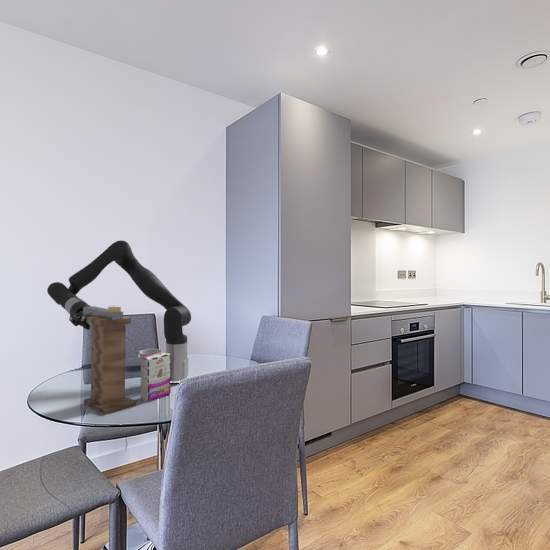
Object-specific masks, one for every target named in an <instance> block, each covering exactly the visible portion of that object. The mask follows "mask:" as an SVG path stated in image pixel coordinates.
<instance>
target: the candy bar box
mask: <svg viewBox="0 0 550 550" xmlns="http://www.w3.org/2000/svg"><path fill="white" fill-rule="evenodd" d="M171 392H172V391H171V384H170V354H169V353H166V352H165V351H164V352H162V353H158V354H154V355H150V356H146V357H142V358H141V364H140V400H141V399H142V400H141V401H143V400H145V401H144V402H147V401H150V402H152V400H153V401H155V399H156V400H158V399H160V397H161V398H164V397H166V396H169V395H171V394H170V393H171ZM168 394H169V395H168ZM165 395H166V396H165ZM163 396H164V397H163ZM157 398H158V399H157Z"/></svg>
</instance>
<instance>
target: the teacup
mask: <svg viewBox="0 0 550 550" xmlns="http://www.w3.org/2000/svg"><path fill="white" fill-rule="evenodd" d="M158 353H162V350H161V349H158V348H148V349H143V350H137V352H136V357H137V359H138V360H139V364H140V365H141V358H142V357H146V356H150V355H154V354H158Z"/></svg>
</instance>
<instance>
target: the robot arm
mask: <svg viewBox="0 0 550 550" xmlns="http://www.w3.org/2000/svg"><path fill="white" fill-rule="evenodd" d="M112 262H115V263H116V264H117V265H118V266H119V267H120V268H121V269H123V270H124V271H125V272H126V273H127V275H129V277H130V278H131V280H132V281H133V283H134V284H135V285H136V286H137V287H138V288H139V290H140V291H141V292H142V293H143V295H145V296H146V297H147V298H148V299H150V300H152V301H153V302H154V303H157V304H159V305H160V306H161V307H163V308H164V309H165V312H164V314H163V335H164V339H165V353H169V354H170V381H179V380H180V381H181V380H183V379H185V378H187V376H188V377H189V358H188V335H186V334H184V333H183V327H184V326H187V325H189V324H190V323H191V321H192V313H191V311H190V309H189V308H188V306H186V305H185V304H184V303H182V301H180V300H179V299H178V298H177V297H176V296H174V294H173V293H172V292H171V291H170V290H169V289H168V287H166V286H165V285H164V284H163V282H161V281H162V280H160V279H159V278H158V277H157V275H155V273H153V272H152V271H151V270H149V268H146V267H144V266H143V265H142V264H141V263H140V262H139V260H138V259H137V258H136V256H135V255H134V253H133V251H132V247H131V245H130V244H129V243H128V242H127V241H125V240H117V241H115V242H113V243H111V244H110V245H109V246H108V247H107V248H106V249H105V250H104V251H103V252H101V253H100V254H99V255H98V256H96V257H95V259H93V261H90V263H88V264H87V265H86V266H84V267H83V268H81V269H80V270H78V271H77V272H75V273H74V274H72V275H71V276H69V277H68V282H69V286H68V287H67V286H66V285H65V284H63V282H58V281H56V282H53V283H51V284H49V285H48V286H47V289H46V290H47V295H49V296H50V298H51V299H52V300H53V301H54V302H55V303H56V304H57V305H59V306H61V307H62V308H63V309H64V310H65V311H66V313H68V314H69V317H68V321H69V322H70V323H71V324H72V325H73V326H74V327H78V326H79V327H82V328H84V330H87V331H88V330H90V329H91V323H89V322H86V319H87V316H93V315H89V314H84V313H83V307H91V305H90V304H88V303H87V302H86V301H85V300H83V299H81V298H79V297H78V296H77V294H78V293H79V292H80V291H81V290H82V289H83V288H85V287H86V286H88V285H89V284H91V283H92V282H94V281H95V280H96V279H97V277H98V276H99V275H100V274H101V273H102V272H103V271H104V269H106V267H107V266H108V265H110V264H112Z"/></svg>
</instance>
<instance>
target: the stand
mask: <svg viewBox="0 0 550 550" xmlns="http://www.w3.org/2000/svg"><path fill="white" fill-rule="evenodd" d="M86 322H87V323H89V324H91V333H90V334H91V336H90V337H91V344H90V345H91V349H90V352H91V353H90V354H91V355H90V356H91V358H90V359H91V360H90V361H91V362H90V364H91V366H90V397H89V398H88V397H87V398H84V399H83V401H84V402H83V404H85V405H86V406H88V407H90V408H91V407H92V408H91V409H93V408H94V409H93V410H95V409H96V410H95V411H97V412H98V411H99V412H98V413H100V412H101V413H100V414H102V413H103V414H102V415H104V416H106V415H109V414H112V413H116V412H119V411H123V409H124V410H126V409H130V407H131V408H133V406H134V407H137V406H136V405H138V402H137V401H136V400H134V399H132V398H130V397H128V396H126V335H127V334H126V333H127V332H126V328H127V327H126V325H129V324H132V317H128V316H124V315H123V319H116V320H111V319H106V318H102V317H97V316H87V319H86ZM105 414H106V415H105Z"/></svg>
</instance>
